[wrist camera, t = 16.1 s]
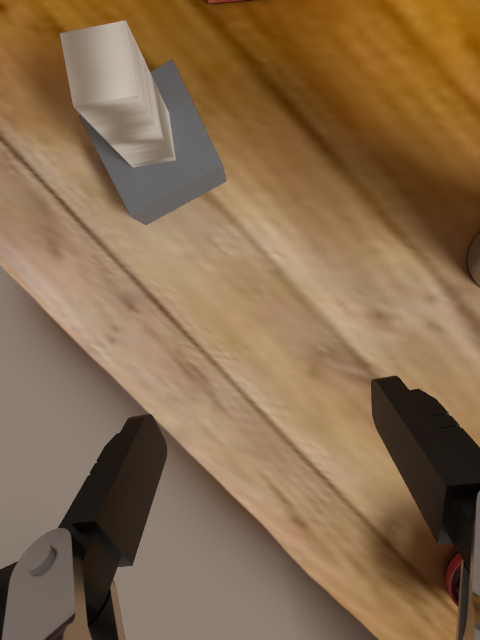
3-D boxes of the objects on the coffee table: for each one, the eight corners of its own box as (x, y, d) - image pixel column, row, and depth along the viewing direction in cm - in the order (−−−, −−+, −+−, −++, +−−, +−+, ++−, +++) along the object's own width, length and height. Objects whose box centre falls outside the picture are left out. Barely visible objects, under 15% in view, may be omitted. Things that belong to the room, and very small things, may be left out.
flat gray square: (184, 93, 33) (172, 58, 28) (226, 182, 34) (222, 164, 29) (103, 140, 34) (78, 116, 29) (147, 225, 35) (130, 215, 30)
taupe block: (168, 112, 29) (125, 20, 19) (176, 160, 29) (137, 95, 20) (125, 120, 29) (59, 33, 19) (132, 167, 30) (73, 106, 20)
